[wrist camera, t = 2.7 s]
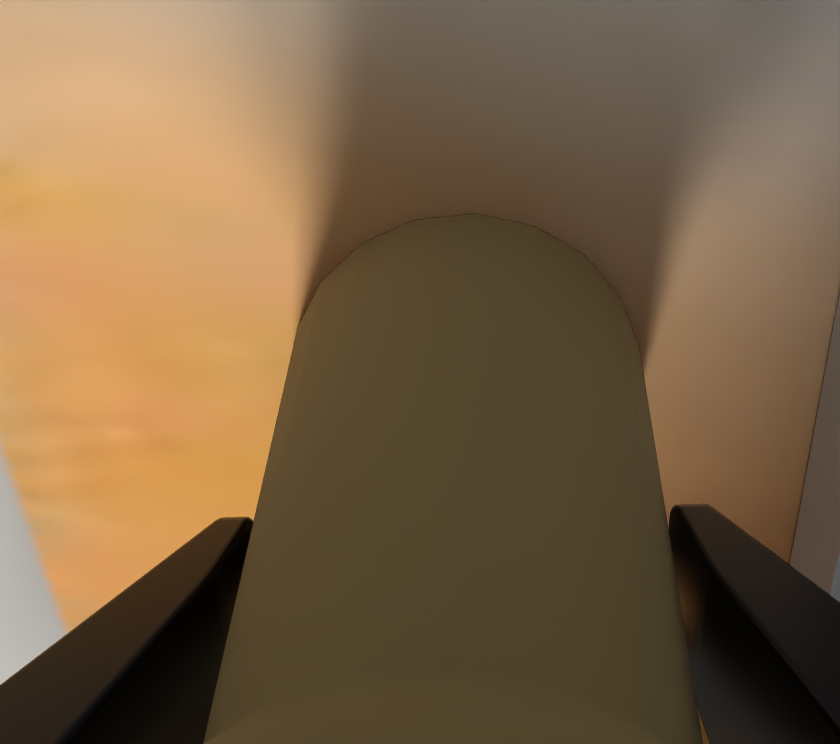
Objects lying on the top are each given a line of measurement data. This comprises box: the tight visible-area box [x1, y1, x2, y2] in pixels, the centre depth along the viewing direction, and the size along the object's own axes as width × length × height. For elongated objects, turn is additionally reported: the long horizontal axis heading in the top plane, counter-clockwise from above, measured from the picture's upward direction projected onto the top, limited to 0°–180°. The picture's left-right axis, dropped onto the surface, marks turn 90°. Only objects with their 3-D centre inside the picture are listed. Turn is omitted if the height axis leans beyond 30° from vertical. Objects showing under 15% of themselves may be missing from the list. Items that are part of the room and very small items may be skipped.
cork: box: [203, 214, 703, 744], centre depth 8 cm, size 6×6×11 cm
